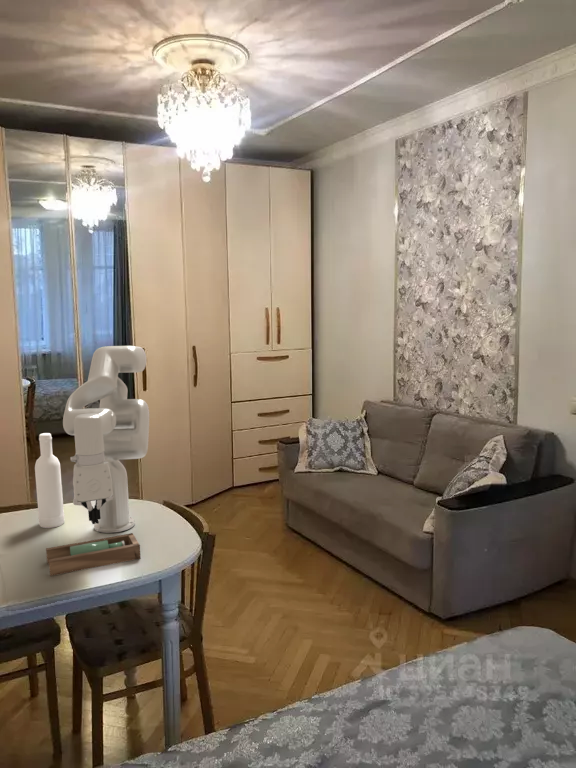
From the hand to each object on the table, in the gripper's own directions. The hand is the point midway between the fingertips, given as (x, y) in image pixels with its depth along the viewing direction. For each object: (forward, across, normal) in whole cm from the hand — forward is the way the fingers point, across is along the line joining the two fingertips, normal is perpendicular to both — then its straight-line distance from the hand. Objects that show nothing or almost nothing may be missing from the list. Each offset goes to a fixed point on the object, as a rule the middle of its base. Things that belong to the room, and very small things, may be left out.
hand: (94, 522), depth 177 cm
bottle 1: (+11, -9, +36) cm, 39 cm away
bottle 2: (+9, -7, 0) cm, 11 cm away
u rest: (+11, -2, 0) cm, 11 cm away
